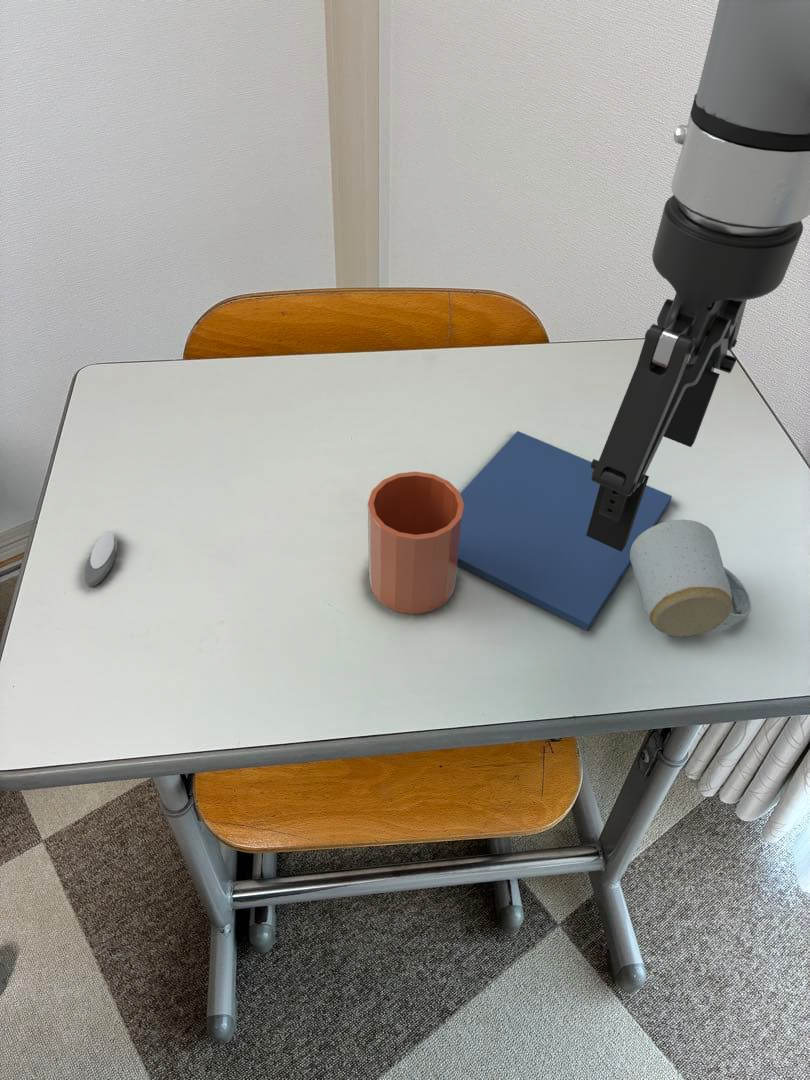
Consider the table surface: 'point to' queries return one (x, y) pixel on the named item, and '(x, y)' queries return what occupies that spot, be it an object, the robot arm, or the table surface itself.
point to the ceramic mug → (686, 579)
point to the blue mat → (545, 529)
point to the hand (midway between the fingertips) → (643, 486)
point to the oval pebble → (101, 559)
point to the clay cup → (414, 541)
